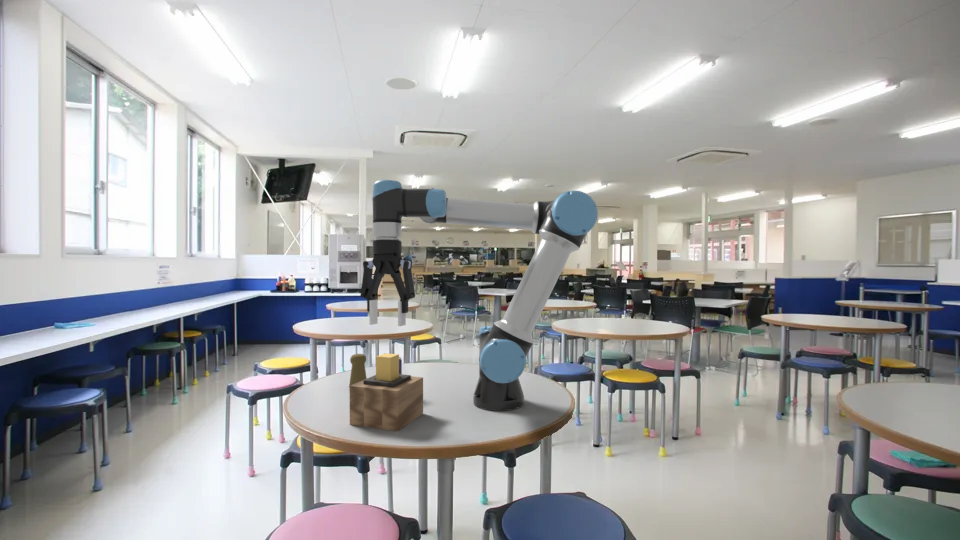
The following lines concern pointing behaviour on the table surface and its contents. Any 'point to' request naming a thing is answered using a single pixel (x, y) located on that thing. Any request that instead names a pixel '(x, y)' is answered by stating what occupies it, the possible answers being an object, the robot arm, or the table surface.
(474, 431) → the table surface
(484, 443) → the table surface
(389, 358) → the peg
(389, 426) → the socket block
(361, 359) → the cork
